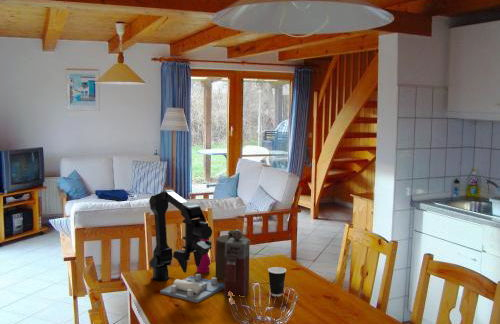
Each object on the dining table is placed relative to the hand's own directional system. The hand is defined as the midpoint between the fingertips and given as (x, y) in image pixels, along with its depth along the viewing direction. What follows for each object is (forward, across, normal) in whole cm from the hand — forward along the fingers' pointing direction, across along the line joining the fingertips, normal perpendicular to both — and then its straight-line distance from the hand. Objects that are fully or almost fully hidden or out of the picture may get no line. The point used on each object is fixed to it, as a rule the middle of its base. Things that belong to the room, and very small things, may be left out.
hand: (191, 269), depth 216 cm
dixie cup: (+10, +17, -33) cm, 38 cm away
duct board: (+10, +3, +1) cm, 11 cm away
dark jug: (+10, +9, -18) cm, 22 cm away
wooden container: (+11, +28, -3) cm, 30 cm away
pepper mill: (+11, +27, +12) cm, 31 cm away
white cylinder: (+7, -2, +1) cm, 7 cm away
